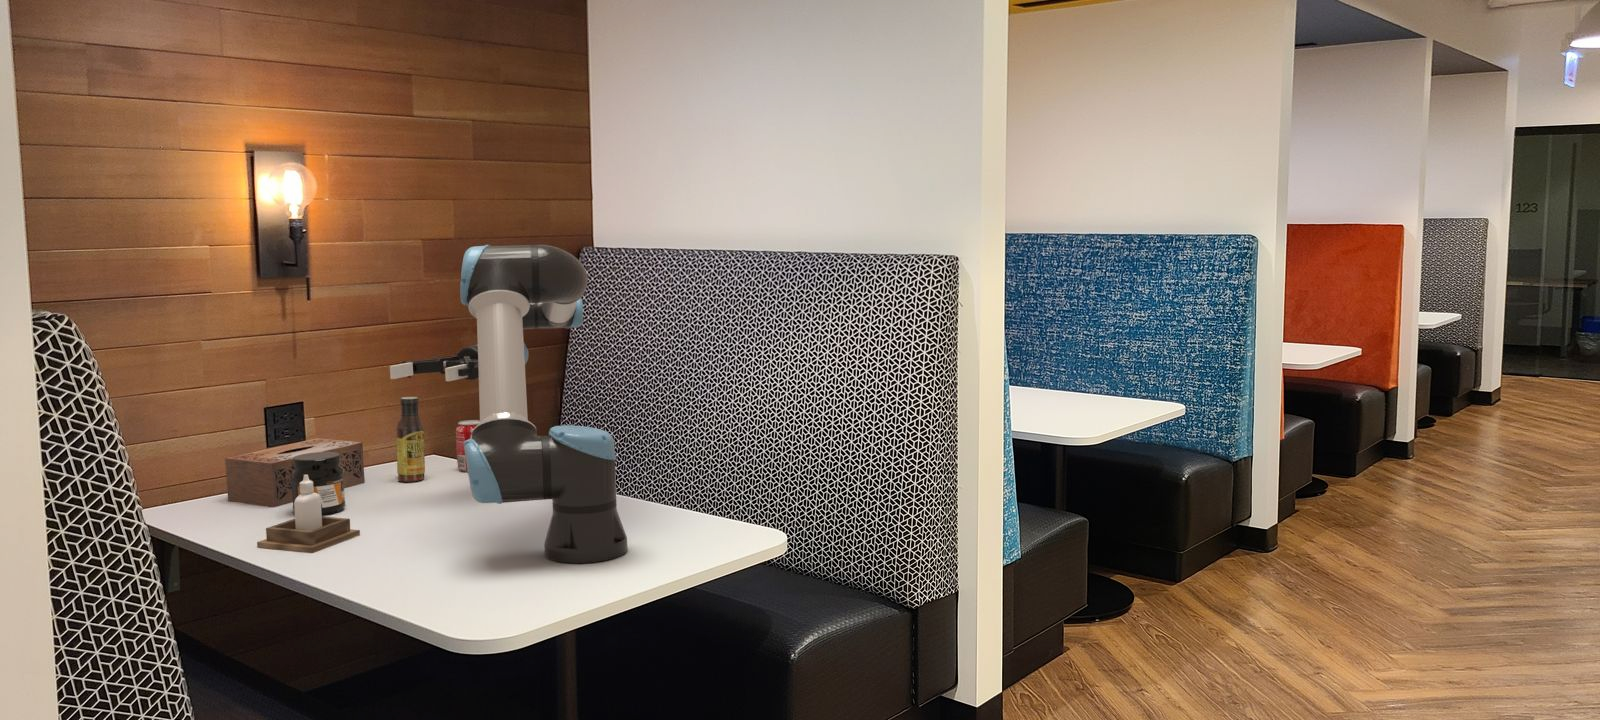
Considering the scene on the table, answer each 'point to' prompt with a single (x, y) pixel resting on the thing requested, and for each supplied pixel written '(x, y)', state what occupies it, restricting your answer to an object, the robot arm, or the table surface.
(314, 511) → the eye dropper bottle
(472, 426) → the soda can
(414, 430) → the sauce bottle
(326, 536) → the square wooden tray stand
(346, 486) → the tissue box cover
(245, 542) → the table surface
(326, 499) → the supplement container
